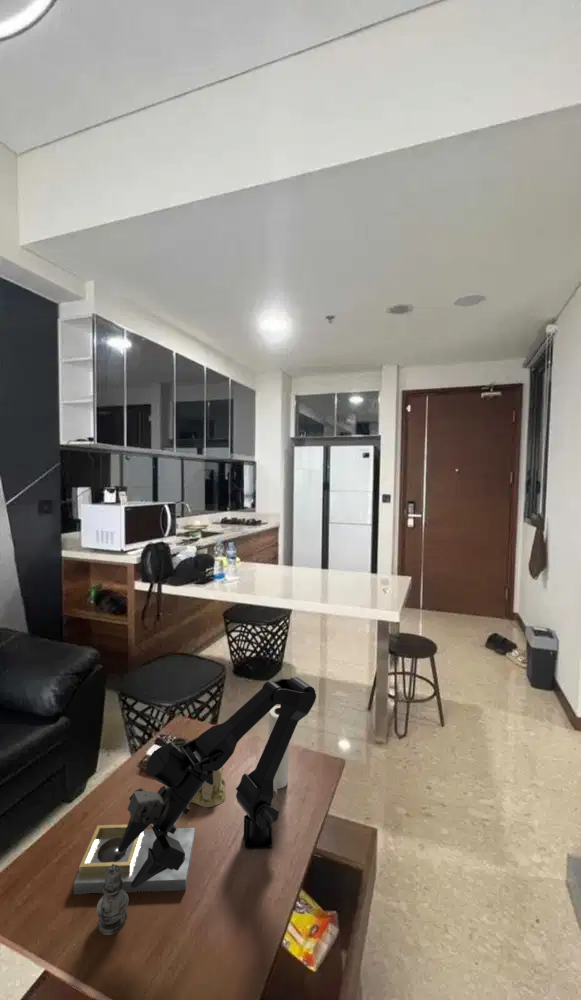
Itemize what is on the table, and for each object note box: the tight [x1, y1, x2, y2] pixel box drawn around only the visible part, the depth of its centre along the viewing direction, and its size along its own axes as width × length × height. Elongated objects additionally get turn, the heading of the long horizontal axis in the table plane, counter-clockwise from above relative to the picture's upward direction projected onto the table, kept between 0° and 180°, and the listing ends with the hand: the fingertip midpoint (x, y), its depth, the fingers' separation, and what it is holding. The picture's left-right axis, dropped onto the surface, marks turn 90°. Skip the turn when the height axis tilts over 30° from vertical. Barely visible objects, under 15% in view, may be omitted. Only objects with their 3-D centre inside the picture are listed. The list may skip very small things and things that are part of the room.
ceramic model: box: [190, 758, 227, 808], centre depth 118 cm, size 14×11×10 cm
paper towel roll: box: [268, 705, 290, 795], centre depth 122 cm, size 7×6×21 cm
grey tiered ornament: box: [95, 864, 130, 936], centre depth 84 cm, size 6×6×12 cm
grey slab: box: [73, 824, 196, 895], centre depth 96 cm, size 23×13×4 cm, turn 94°
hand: (125, 868), depth 85 cm, fingers open, 9 cm apart
